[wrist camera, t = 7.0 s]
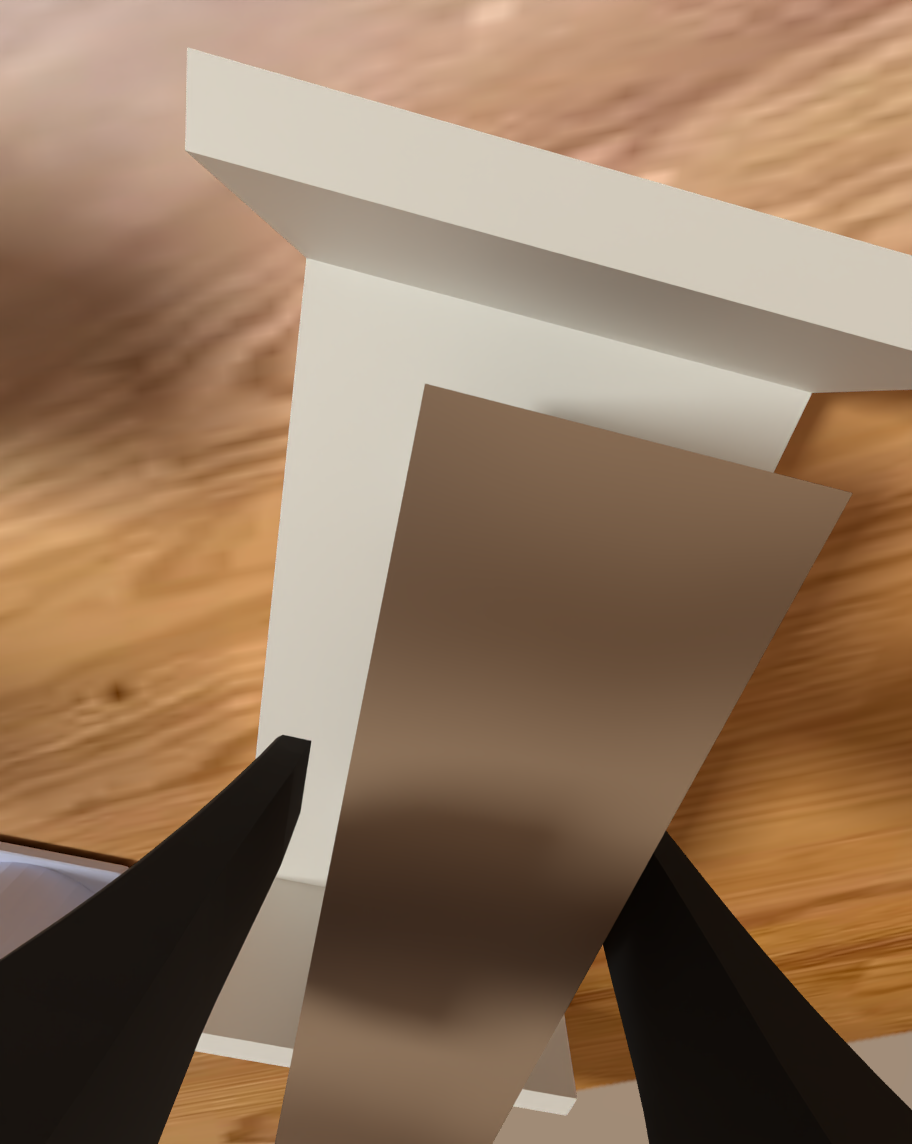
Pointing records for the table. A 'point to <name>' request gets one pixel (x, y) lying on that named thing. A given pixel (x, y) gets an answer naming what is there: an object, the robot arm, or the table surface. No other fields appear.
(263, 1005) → the shelf stand
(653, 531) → the brown wooden bar
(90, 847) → the table surface
